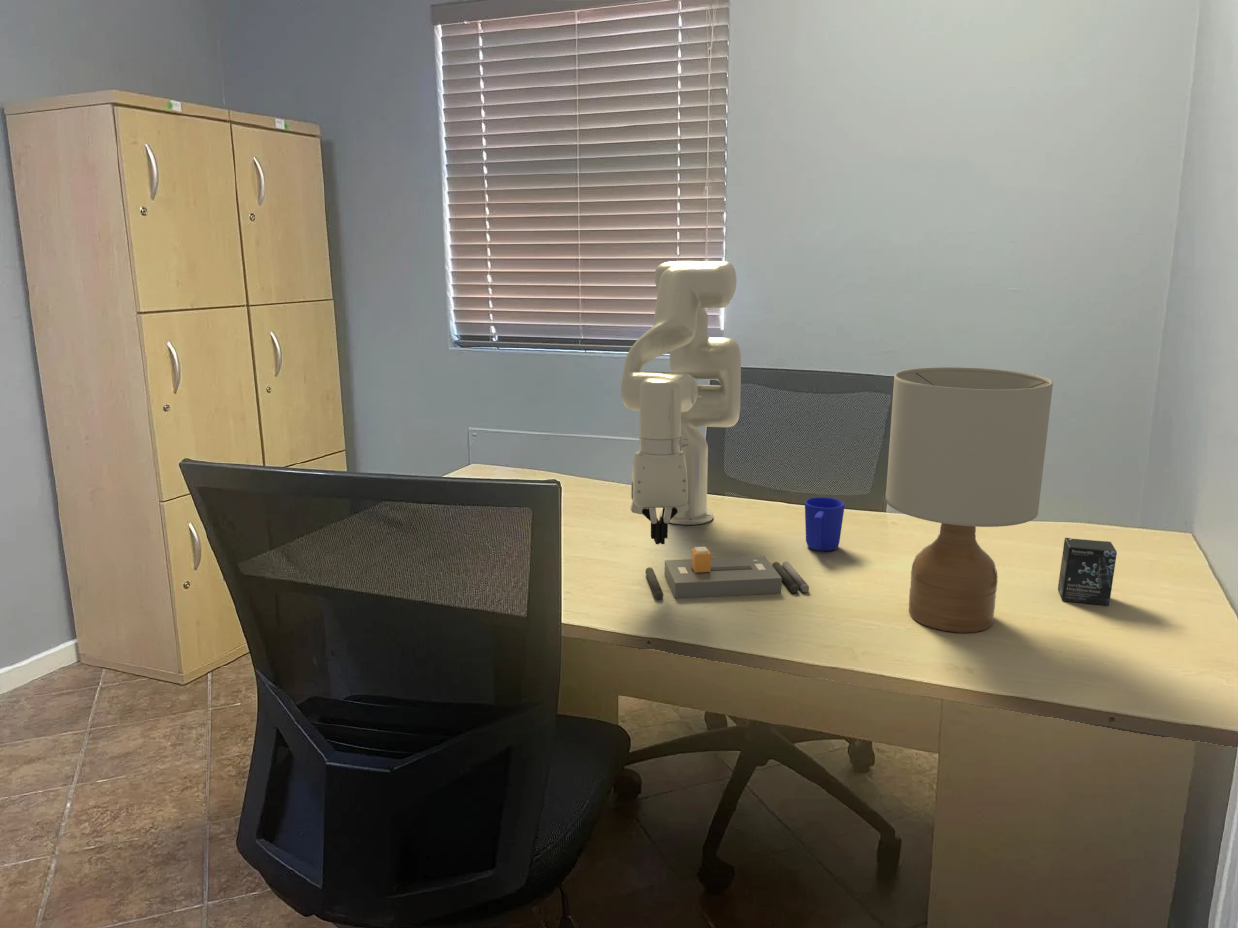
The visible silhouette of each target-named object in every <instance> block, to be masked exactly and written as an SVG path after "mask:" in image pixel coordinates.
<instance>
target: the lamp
mask: <svg viewBox="0 0 1238 928" xmlns="http://www.w3.org/2000/svg"><path fill="white" fill-rule="evenodd" d="M893 378H894V379H893V388H892V389H893V390H892V391H893V392H892V403H891V405H892V406H891V416H890V417H891V420H890V431H889V433H890V434H889V435H890V436H889V446H888V447H889V448H888V463H887V476H886V487H885V488H886V489H885V490H886V491H885V503H886V504H887V505H888V506H889V507H891V508H892V509H893V510H895V511H897V512H899V513H901V514H905V515H907V516H910V517H913V518H917V519H919V520H923V521H924V520H925V521H927V522H932V523H933V522H934V523H938V524H940V526H939V527H940V528H939V534H938V536H937V538H935V540H934V541H933V542H932V543H929V544H928V545H927V546H925V547H923V548H922V550H920V551H919V552H918V553H916V554H915V556H914V559H913V562H912V564H911V571H910V588H909V594H908V595H909V596H908V597H909V598H908V613H909V615H910V616H911V618H912V619H913V620H915V621H916V622H917V623H919V624H920V625H923V626H926V627H929V628H931V629H935V630H938V631H944V632H951V633H959V634H960V633H965V634H967V633H968V634H969V633H970V634H971V633H977V632H982V631H985V630H988V629H990V628H991V627H992V626H993V623H994V621H995V620H994V615H995V608H996V607H995V606H996V596H997V590H998V589H997V588H998V582H999V581H998V577H999V576H998V570H997V568H996V564H995V561H994V559H992V557H991V556H990V555H989V554H988V553H987V552H986V551H985V550H984V549H983V548H982V547H981V546H980V544H979V543H978V540H977V535H976V531H977V528H979V527H980V528H995V527H996V528H997V527H1009V526H1017V525H1021V524H1026V523H1029V522H1031V521H1033V520H1034V519H1036V517H1038V515H1039V510H1040V509H1039V507H1040V499H1041V490H1042V482H1043V475H1044V474H1043V472H1044V463H1045V456H1046V446H1047V438H1048V430H1049V429H1048V428H1049V423H1050V422H1049V421H1050V413H1051V412H1050V411H1051V405H1052V404H1051V403H1052V395H1053V386H1054V381H1053V380H1052V379H1050V378H1048V377H1046V376H1041V375H1037V374H1035V373H1028V372H1022V371H1015V370H1009V369H1008V370H1007V369H996V368H995V369H994V368H984V367H983V368H981V367H978V368H977V367H962V366H961V367H959V366H957V367H956V366H954V367H953V366H949V367H947V366H946V367H945V366H944V367H943V366H942V367H939V366H938V367H936V366H935V367H933V366H932V367H921V368H920V367H918V368H910V369H903V370H900V371H897V372H895V373H894V377H893ZM976 527H977V528H976Z"/></svg>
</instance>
